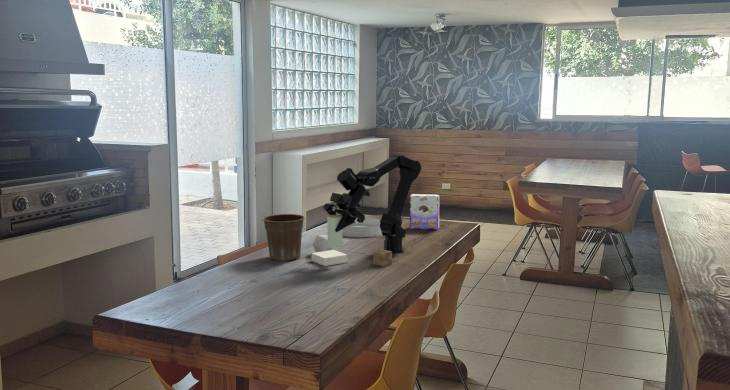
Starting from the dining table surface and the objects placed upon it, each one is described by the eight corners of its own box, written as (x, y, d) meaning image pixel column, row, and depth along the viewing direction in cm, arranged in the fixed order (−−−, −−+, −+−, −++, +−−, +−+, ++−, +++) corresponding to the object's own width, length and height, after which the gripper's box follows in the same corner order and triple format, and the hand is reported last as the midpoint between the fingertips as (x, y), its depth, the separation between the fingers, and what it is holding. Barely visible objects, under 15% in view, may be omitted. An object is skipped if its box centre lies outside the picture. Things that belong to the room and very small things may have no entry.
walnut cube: (381, 262, 250) (381, 249, 249) (391, 264, 247) (391, 251, 246) (373, 264, 246) (373, 251, 246) (383, 266, 243) (383, 253, 242)
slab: (333, 257, 257) (333, 249, 257) (347, 262, 249) (347, 254, 249) (311, 260, 252) (311, 253, 251) (324, 266, 244) (324, 258, 243)
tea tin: (335, 245, 248) (335, 214, 246) (342, 247, 245) (342, 215, 243) (327, 247, 245) (327, 215, 243) (334, 249, 242) (333, 217, 240)
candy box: (439, 227, 316) (440, 194, 313) (438, 230, 310) (438, 196, 308) (411, 226, 319) (411, 193, 316) (409, 228, 313) (409, 195, 311)
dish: (355, 226, 321) (355, 216, 320) (393, 231, 308) (393, 221, 307) (327, 234, 303) (327, 223, 302) (365, 239, 290) (365, 228, 289)
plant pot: (264, 263, 247) (263, 222, 245) (262, 254, 263) (261, 214, 261) (307, 261, 251) (306, 220, 248) (302, 252, 266) (302, 213, 264)
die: (325, 259, 256) (338, 238, 258) (307, 248, 257) (320, 227, 259) (326, 261, 264) (339, 241, 266) (308, 251, 265) (321, 231, 267)
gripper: (326, 182, 251) (304, 214, 245) (359, 187, 237) (336, 221, 232) (342, 200, 257) (320, 231, 252) (374, 205, 244) (353, 239, 238)
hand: (332, 230), depth 243 cm, fingers closed on tea tin, 4 cm apart
